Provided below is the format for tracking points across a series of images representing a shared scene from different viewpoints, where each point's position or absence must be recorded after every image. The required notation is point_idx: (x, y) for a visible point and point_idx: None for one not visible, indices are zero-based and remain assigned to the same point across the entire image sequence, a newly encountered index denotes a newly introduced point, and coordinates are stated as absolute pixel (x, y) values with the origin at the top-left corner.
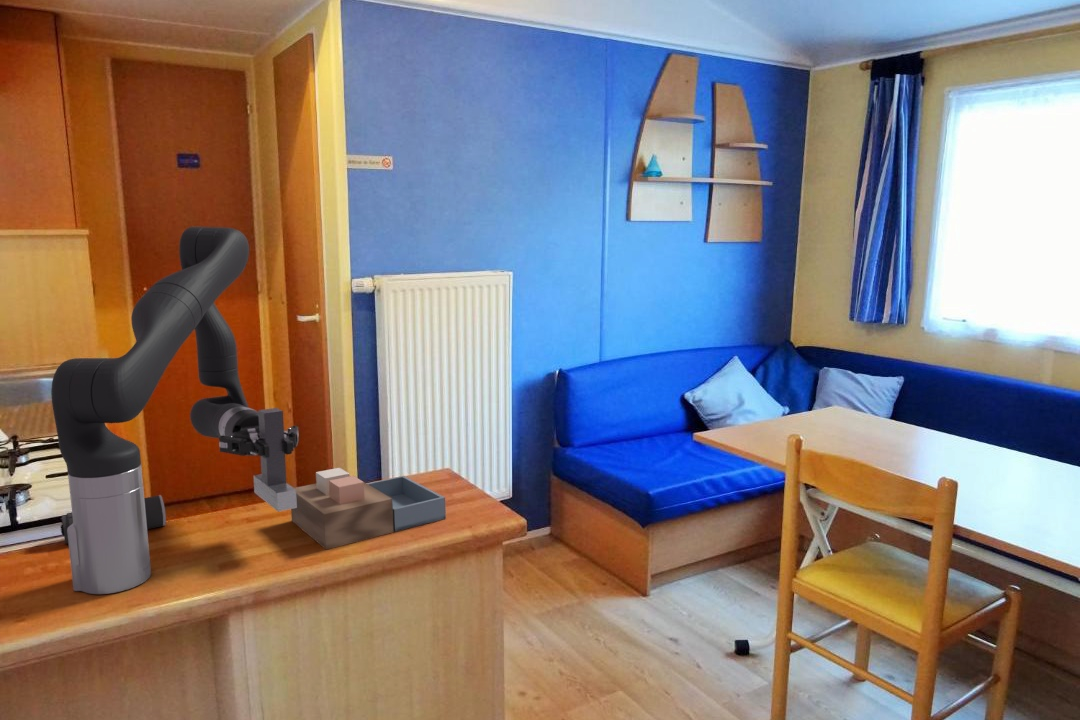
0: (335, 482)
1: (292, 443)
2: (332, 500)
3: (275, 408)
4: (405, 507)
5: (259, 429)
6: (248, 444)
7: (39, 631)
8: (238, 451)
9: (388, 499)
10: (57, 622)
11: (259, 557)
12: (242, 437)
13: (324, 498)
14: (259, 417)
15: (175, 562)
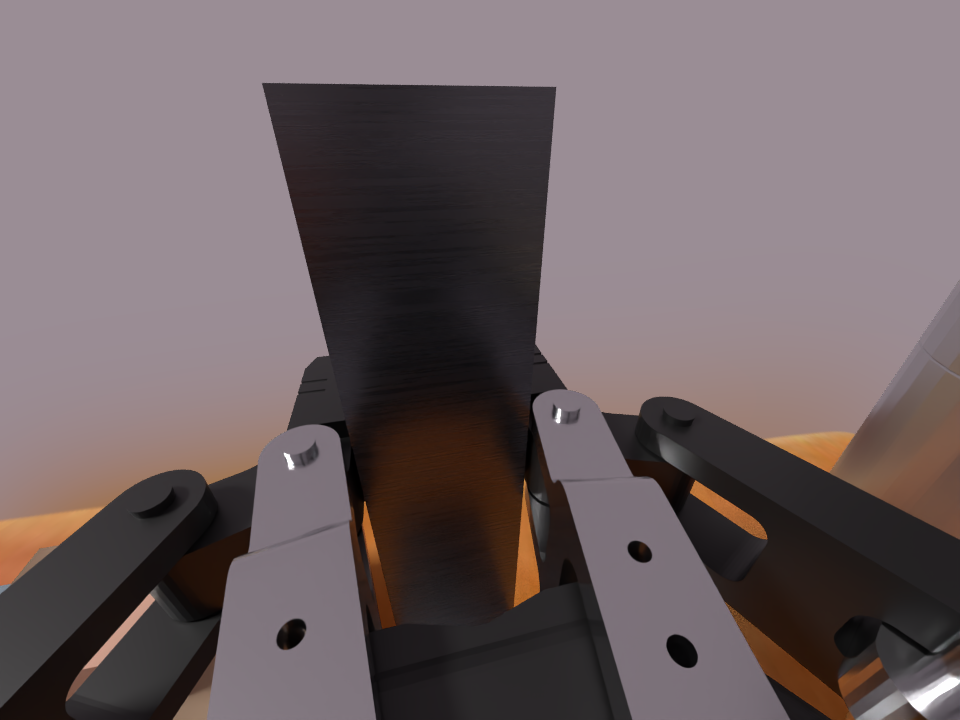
0: (143, 604)
1: (324, 360)
2: None
3: (301, 86)
4: (4, 585)
5: (532, 333)
6: (612, 418)
7: (840, 442)
8: (699, 514)
9: (57, 546)
10: (836, 458)
11: (521, 596)
12: (822, 713)
13: (207, 693)
14: (534, 190)
15: (784, 676)
